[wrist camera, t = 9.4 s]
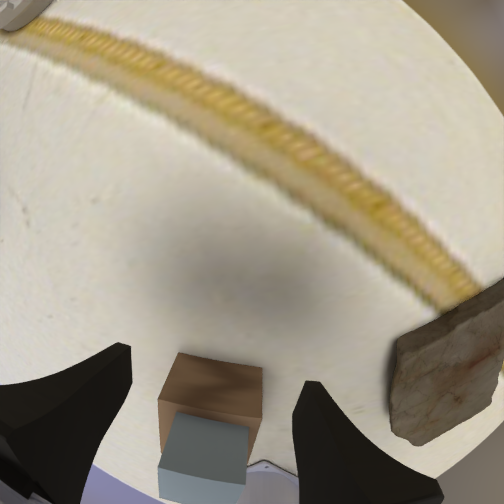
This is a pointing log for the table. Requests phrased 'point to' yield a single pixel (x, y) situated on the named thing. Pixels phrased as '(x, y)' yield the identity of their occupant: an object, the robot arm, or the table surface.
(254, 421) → the wood grain block
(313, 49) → the table surface
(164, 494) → the slate cube
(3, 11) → the flag stand
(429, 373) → the flat brown rock
